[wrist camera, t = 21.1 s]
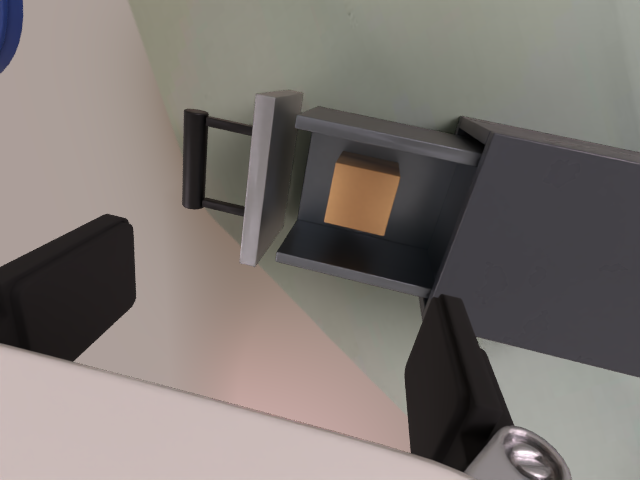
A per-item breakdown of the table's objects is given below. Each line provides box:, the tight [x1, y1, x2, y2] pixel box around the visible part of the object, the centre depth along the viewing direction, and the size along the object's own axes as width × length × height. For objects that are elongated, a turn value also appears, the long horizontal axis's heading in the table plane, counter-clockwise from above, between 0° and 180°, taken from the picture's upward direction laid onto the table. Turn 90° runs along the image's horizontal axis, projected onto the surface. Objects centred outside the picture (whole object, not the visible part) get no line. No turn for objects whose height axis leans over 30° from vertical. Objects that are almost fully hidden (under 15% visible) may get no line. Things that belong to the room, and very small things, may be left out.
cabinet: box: [419, 116, 640, 377], centre depth 25 cm, size 16×13×10 cm
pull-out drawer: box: [182, 90, 485, 299], centre depth 27 cm, size 20×11×8 cm, turn 79°
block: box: [324, 151, 401, 236], centre depth 27 cm, size 4×4×4 cm
